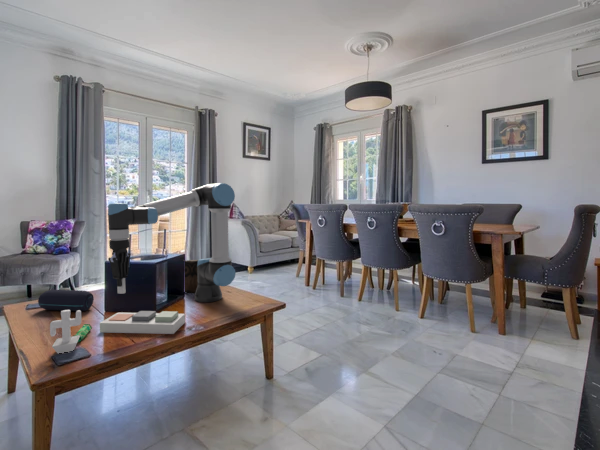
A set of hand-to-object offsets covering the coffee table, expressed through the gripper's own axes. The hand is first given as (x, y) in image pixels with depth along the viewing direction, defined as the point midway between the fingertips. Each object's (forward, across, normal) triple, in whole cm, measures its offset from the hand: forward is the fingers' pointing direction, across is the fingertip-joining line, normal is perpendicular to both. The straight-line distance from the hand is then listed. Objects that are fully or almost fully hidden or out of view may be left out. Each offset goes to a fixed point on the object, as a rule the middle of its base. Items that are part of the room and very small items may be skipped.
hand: (121, 293), depth 140 cm
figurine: (+15, +23, -7) cm, 29 cm away
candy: (+15, +12, -10) cm, 22 cm away
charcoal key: (+12, 0, +10) cm, 15 cm away
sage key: (+12, 0, +20) cm, 23 cm away
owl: (+16, -58, +12) cm, 61 cm away
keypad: (+15, 0, +10) cm, 18 cm away
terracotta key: (+14, 0, 0) cm, 14 cm away
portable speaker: (+15, -20, -39) cm, 46 cm away
